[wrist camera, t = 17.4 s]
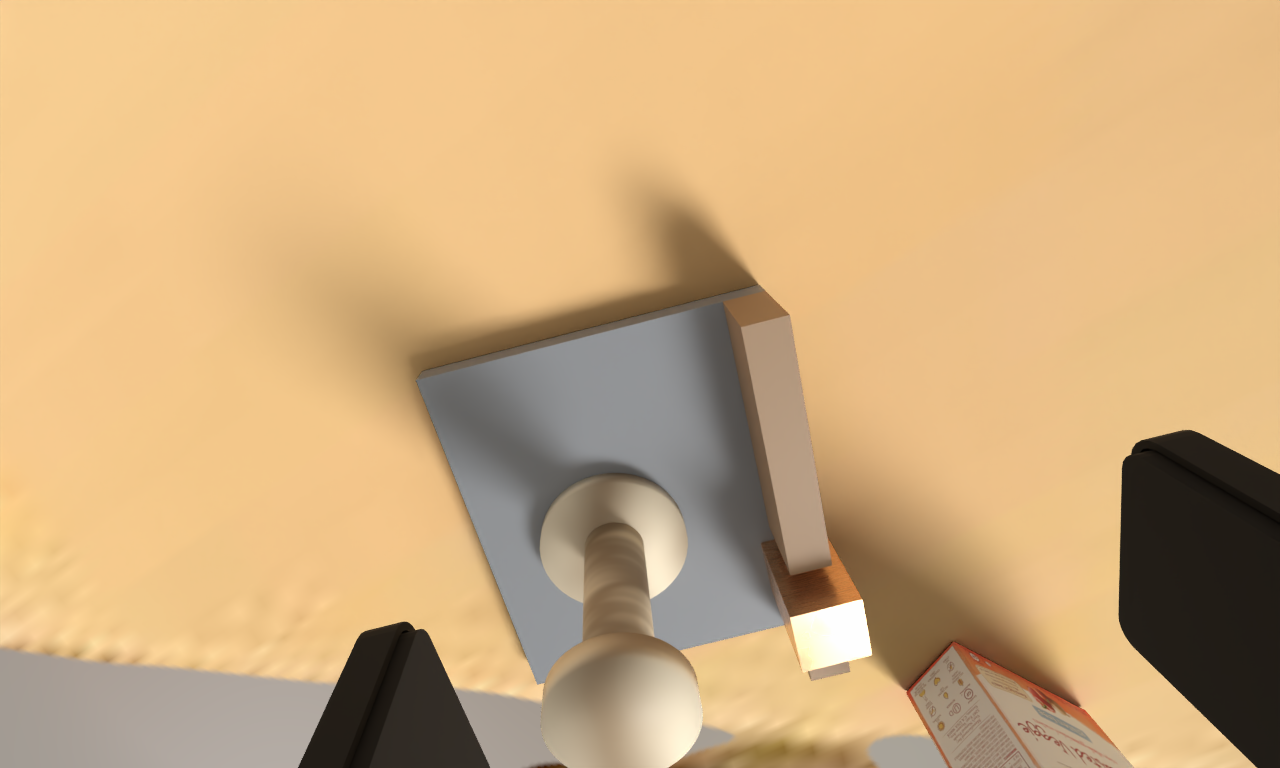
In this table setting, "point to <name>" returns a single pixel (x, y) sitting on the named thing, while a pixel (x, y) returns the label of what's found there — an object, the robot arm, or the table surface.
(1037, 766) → the cracker box
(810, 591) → the copper block
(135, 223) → the table surface
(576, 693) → the bobbin
